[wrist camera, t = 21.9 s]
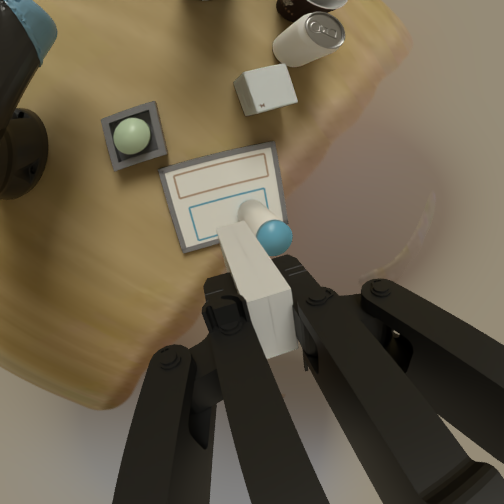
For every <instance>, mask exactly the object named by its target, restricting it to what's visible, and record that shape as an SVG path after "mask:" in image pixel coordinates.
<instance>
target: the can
mask: <svg viewBox="0 0 504 504" xmlns="http://www.w3.org/2000/svg"><path fill="white" fill-rule="evenodd" d="M344 40H345V31H344V28H343V26H342V24H341V23H340V22H339V20H338V19H336V18H335V17H334V16H332V15H331V14H328V13H325V12H314V13H309V14H306V15H304V16H302V17H301V18H299V19H298V20H297V21H296V22H294V23H293V24H292V25H291V26H289V27H288V28H287V29H286V30H284V31H283V32H282V33H281V34H280V35H279V36H278V37H276V39H275V40H274V42H273V53H274V55H275V57H276V58H277V59H278V60H279V61H280V62H281V63H282V64H283V63H285V64H286V66H289V67H300V66H302V65H305V64H307V63H310V62H312V61H314V60H317V59H319V58H321V57H324V56H326V55H329V54H331V53H333V52H335V51H336V50H337V49H338V48H339V47H340V46H341V45H342V44H343V42H344Z"/></svg>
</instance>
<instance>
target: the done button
mask: <svg viewBox="0 0 504 504" xmlns="http://www.w3.org/2000/svg"><path fill="white" fill-rule="evenodd" d="M151 136H152V132H151V128H150V126H149V125H148V124H147V123H146V122H145V121H143V120H141V119H137V118H129V119H126V120H124V121H122V122H121V123H120V124H119V125H118V126H117V127H116V129H115V132H114V137H113V138H114V144H115V146H116V148H117V149H118V150H119V151H120V152H122V153H124V154H135V153H138V152H140V151H142V150H143V149H145V148H146V147H147V146H148V144H149V143H150V140H151Z"/></svg>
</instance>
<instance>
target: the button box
mask: <svg viewBox="0 0 504 504" xmlns="http://www.w3.org/2000/svg"><path fill="white" fill-rule="evenodd" d="M129 118H137V119H141V120H143V121H145V122H146V123H147V124H148V125H149V126H150V128H151V132H152V136H151V140H150V143H149V144H148V146H147V147H146V148H145V149H143V150H142V151H140V152H138V153H135V154H124V153H122V152H120V151H119V150H118V149H117V148H116V146H115V144H114V138H113V137H114V132H115V129H116V127H117V126H118V125H119V124H120V123H121V122H122V121H124V120H126V119H129ZM101 123H102V127H103V131H104V136H105V140H106V144H107V147H108V151H109V155H110V159H111V162H112V166H113V169H114V171H117V170H120V169H123V168H125V167H128V166H131V165H134V164H137V163H140V162H143V161H146V160H149V159H153V158H156V157H159V156H162V155H166V154H167V153H168V150H167V146H166V142H165V138H164V134H163V130H162V126H161V121H160V117H159V112H158V108H157V103H156V102H155V101H152V102H149V103H145V104H142V105H139V106H136V107H133V108H130V109H127V110H124V111H122V112H119V113H116V114H113V115H111V116H108V117H105V118H103V119H101Z"/></svg>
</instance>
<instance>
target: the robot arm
mask: <svg viewBox="0 0 504 504" xmlns="http://www.w3.org/2000/svg"><path fill="white" fill-rule="evenodd" d="M56 37H57V28H56V24H55V23H54V21H53V20H52V18H51V17H50V16H49V15H48V14H47V13H46V12H45V11H44V10H43V9H42V8H41V7H40V6H39V5H38V4H36V3H35V2H34V1H32V0H0V199H4V200H10V199H15V198H18V197H20V196H22V195H24V194H26V193H27V192H29V191H30V190H31V189H32V188H33V187H34V186H35V185H36V184H37V182H38V181H39V179H40V177H41V175H42V173H43V171H44V168H45V165H46V161H47V155H48V139H47V133H46V130H45V127H44V124H43V122H42V121H41V119H40V118H39V117H38V115H36V114H35V113H34V112H33V111H31V110H28V109H24V108H16V107H17V105H18V103H19V101H20V99H21V97H22V95H23V93H24V92H25V90H26V88H27V86H28V84H29V83H30V81H31V79H32V77H33V76H34V74H35V72H36V71H37V69H38V68H39V67H41V65H42V63H43V59H44V58H45V56H46V54H47V53H48V51H49V50H50V48H51V47H52V45H53V44H54V42H55V40H56ZM216 231H217V235H218V239H219V243H220V246H221V250H222V254H223V258H224V261H225V265H226V269H227V272H228V273H225V274H221V275H218V276H214V277H211V278H207V280H206V282H205V284H204V286H203V287H204V293H205V298H206V303H205V304H204V306H203V307H202V315H203V317H204V320H205V323H206V325H207V328H208V331H209V334H208V335H207V337H206V338H205V339H204V340H203V341H202V342H200V343H199V344H197V345H195V346H194V347H192V348H190V349H188V348H186V347H184V346H182V345H175V344H174V345H169V346H166V347H164V348H162V349H160V350H158V351H157V352H156V353H155V354H154V355H153V357H152V359H151V360H150V363H149V366H148V369H147V372H146V376H145V379H144V382H143V385H142V389H141V392H140V395H139V398H138V402H137V405H136V409H135V412H134V416H133V419H132V423H131V427H130V430H129V434H128V438H127V442H126V445H125V449H124V453H123V457H122V461H121V466H120V470H119V474H118V478H117V483H116V487H115V492H114V498H113V502H112V504H209V502H210V486H211V471H212V457H213V444H214V431H215V419H216V407H217V405H216V404H217V403H218V402H220V401H222V400H223V399H224V404H225V408H226V412H227V416H228V420H229V424H230V428H231V432H232V436H233V440H234V444H235V448H236V451H237V455H238V459H239V462H240V466H241V469H242V473H243V476H244V480H245V483H246V487H247V490H248V493H249V496H250V500H251V503H252V504H330V503H329V501H328V499H327V497H326V495H325V493H324V490H323V488H322V486H321V484H320V482H319V480H318V478H317V475H316V473H315V471H314V469H313V466H312V464H311V462H310V460H309V458H308V455H307V453H306V451H305V448H304V446H303V444H302V442H301V439H300V437H299V435H298V432H297V430H296V428H295V426H294V423H293V421H292V419H291V416H290V414H289V412H288V409H287V407H286V405H285V402H284V400H283V397H282V395H281V393H280V390H279V388H278V385H277V383H276V381H275V378H274V376H273V373H272V371H271V369H270V366H269V364H268V361H267V359H269V358H271V357H275V356H278V355H281V354H283V353H287V352H289V351H292V350H295V349H298V341H299V342H300V344H301V346H302V349H303V360H304V368H305V371H308V367H309V369H310V370H311V372H312V374H313V376H314V378H315V380H316V382H317V383H318V385H319V387H320V389H321V391H322V393H323V395H324V396H325V398H326V400H327V402H328V404H329V406H330V407H331V409H332V411H333V413H334V414H335V417H336V418H337V420H338V422H339V424H340V426H341V428H342V429H343V431H344V433H345V435H346V437H347V439H348V440H349V442H350V444H351V446H352V448H353V450H354V451H355V453H356V455H357V457H358V459H359V461H360V462H361V464H362V466H363V468H364V470H365V471H366V473H367V475H368V477H369V479H370V481H371V482H372V484H373V486H374V487H375V490H376V492H377V493H378V495H379V497H380V499H381V500H382V502H383V504H504V479H503V477H502V476H501V474H500V473H499V472H498V470H497V469H495V468H494V466H492V465H490V464H488V463H485V462H475V461H474V460H472V459H471V458H470V457H469V456H468V455H467V453H466V452H465V451H464V449H463V448H462V447H461V446H460V444H459V443H458V441H457V440H456V439H455V437H454V436H453V434H452V433H451V432H450V430H449V429H448V428H447V426H446V425H445V424H444V423H443V421H442V420H441V419H440V417H439V416H438V415H440V416H441V417H442V418H444V419H445V420H446V421H447V422H449V423H450V424H451V425H452V426H454V427H455V428H456V429H458V430H459V431H460V432H462V433H463V434H464V435H466V436H467V437H468V438H470V439H471V440H472V441H474V442H475V443H476V444H477V445H479V446H480V447H481V448H483V449H484V450H485V451H487V452H488V453H489V454H491V455H492V456H493V457H495V458H496V459H497V460H499V461H500V462H502V463H503V464H504V345H502V344H500V343H499V342H497V341H496V340H494V339H492V338H491V337H489V336H488V335H486V334H484V333H483V332H481V331H479V330H478V329H476V328H474V327H473V326H471V325H469V324H468V323H466V322H464V321H462V320H461V319H459V318H457V317H455V316H454V315H452V314H450V313H449V312H447V311H445V310H443V309H441V308H440V307H438V306H436V305H434V304H433V303H431V302H429V301H427V300H426V299H424V298H422V297H420V296H418V295H417V294H415V293H413V292H411V291H409V290H408V289H406V288H404V287H402V286H400V285H398V284H396V283H395V282H393V281H390V280H387V279H372V280H370V281H367V282H366V283H365V284H364V285H363V286H362V289H361V294H354V295H347V296H339V295H338V294H337V293H336V292H335V291H333V290H332V289H330V288H326V287H321V286H320V285H319V284H318V283H317V282H316V280H315V279H314V278H313V277H312V276H311V275H310V273H309V272H308V271H306V269H305V268H304V266H302V264H301V263H300V262H299V261H298V259H297V258H295V257H292V256H290V255H284V256H280V257H277V258H274V259H270V257H269V256H268V254H267V253H266V251H265V250H264V248H263V247H262V245H261V244H260V242H259V241H258V240H257V238H256V237H255V235H254V234H253V232H252V231H251V229H250V228H249V226H248V225H247V224H246V222H245V221H241V222H237V223H233V224H230V225H226V226H222V227H219V228H216ZM394 330H395V331H396V332H398V333H399V334H400V335H398V334H395V333H394V332H393V331H394ZM437 414H438V415H437Z"/></svg>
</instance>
